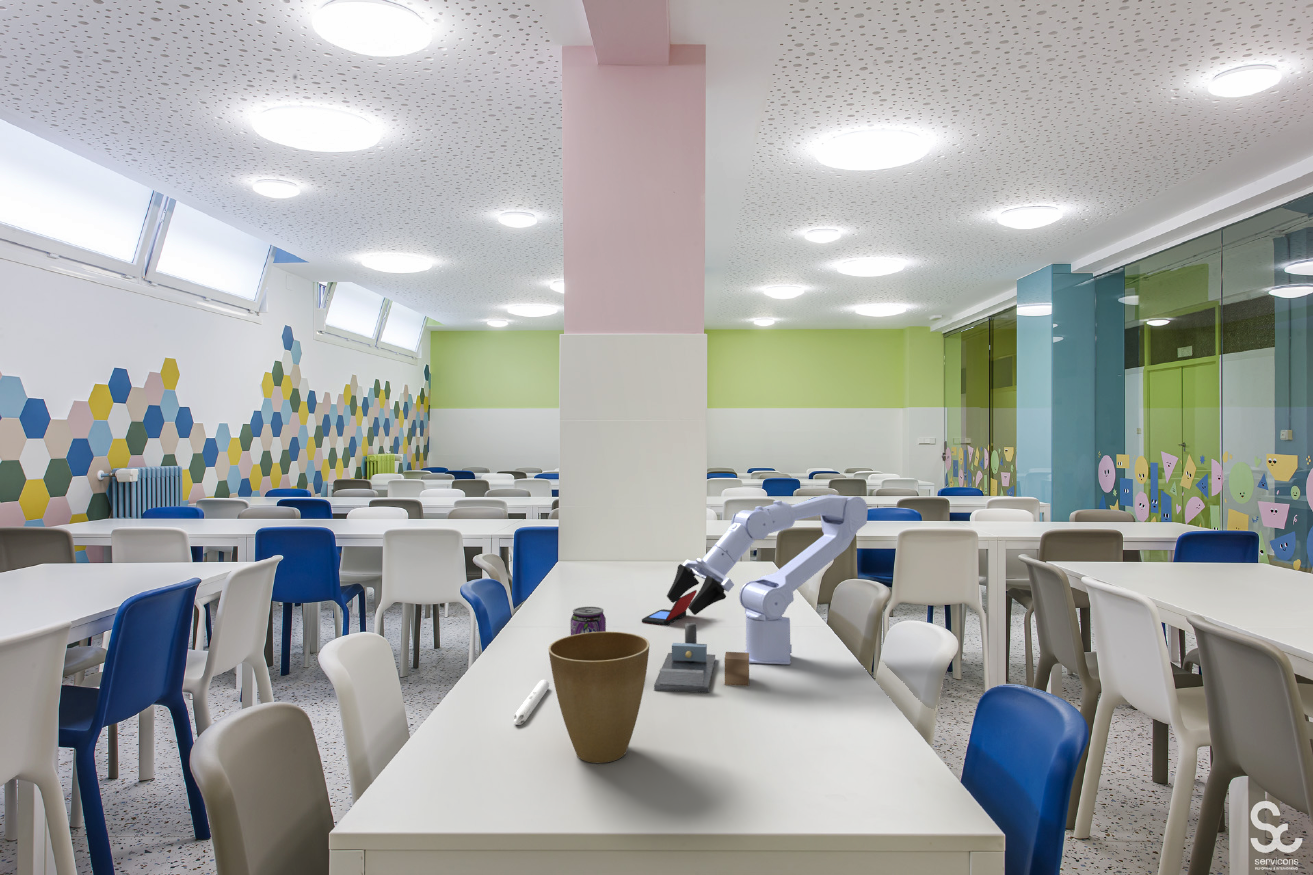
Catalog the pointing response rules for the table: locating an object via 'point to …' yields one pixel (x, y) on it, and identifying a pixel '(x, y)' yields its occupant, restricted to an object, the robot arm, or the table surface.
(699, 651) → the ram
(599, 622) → the beverage can
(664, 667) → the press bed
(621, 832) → the table surface
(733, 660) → the brown block
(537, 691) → the marker
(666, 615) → the handheld game console
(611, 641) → the plant pot
